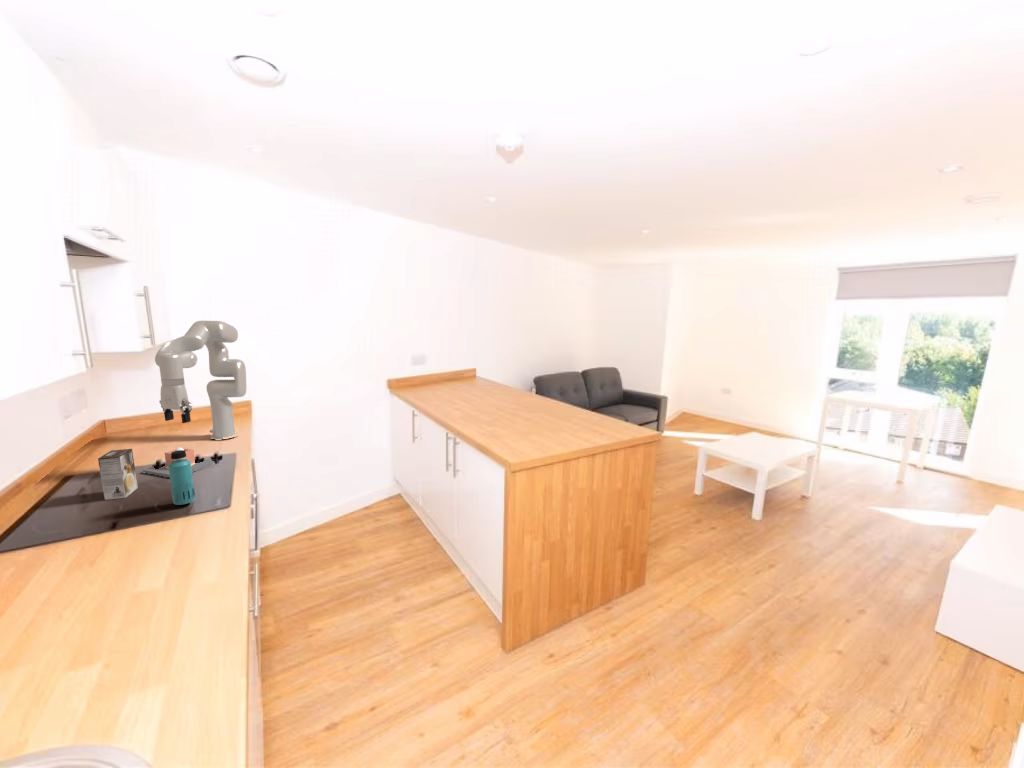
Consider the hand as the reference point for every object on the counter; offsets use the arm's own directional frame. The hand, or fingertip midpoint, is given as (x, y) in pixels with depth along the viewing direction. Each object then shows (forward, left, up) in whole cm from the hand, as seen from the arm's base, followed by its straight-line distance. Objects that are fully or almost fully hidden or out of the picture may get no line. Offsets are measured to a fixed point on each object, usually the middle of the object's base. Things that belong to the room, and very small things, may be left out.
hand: (178, 421), depth 175 cm
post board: (+2, -2, -21) cm, 21 cm away
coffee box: (+7, -27, -21) cm, 35 cm away
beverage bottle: (+37, -26, -21) cm, 49 cm away
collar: (+1, -2, -19) cm, 19 cm away
